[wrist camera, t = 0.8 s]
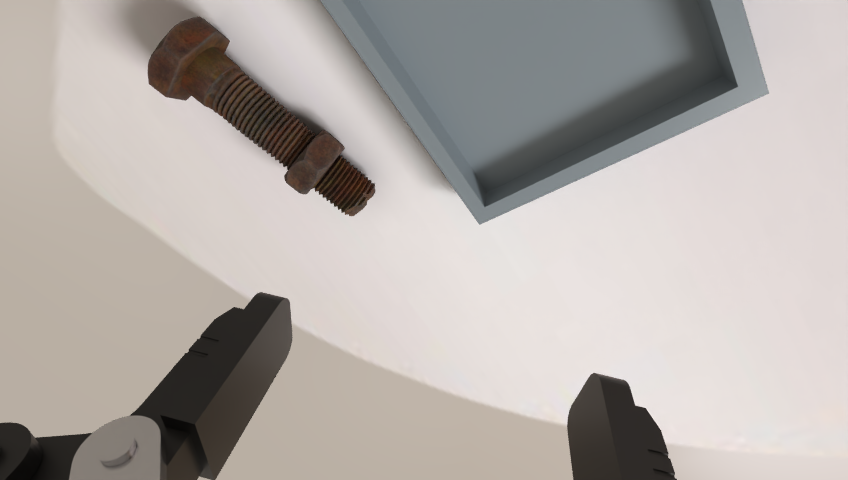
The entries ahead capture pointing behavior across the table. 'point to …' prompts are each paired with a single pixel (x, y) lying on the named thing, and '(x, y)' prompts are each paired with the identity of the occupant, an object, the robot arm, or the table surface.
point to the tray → (550, 82)
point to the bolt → (254, 113)
